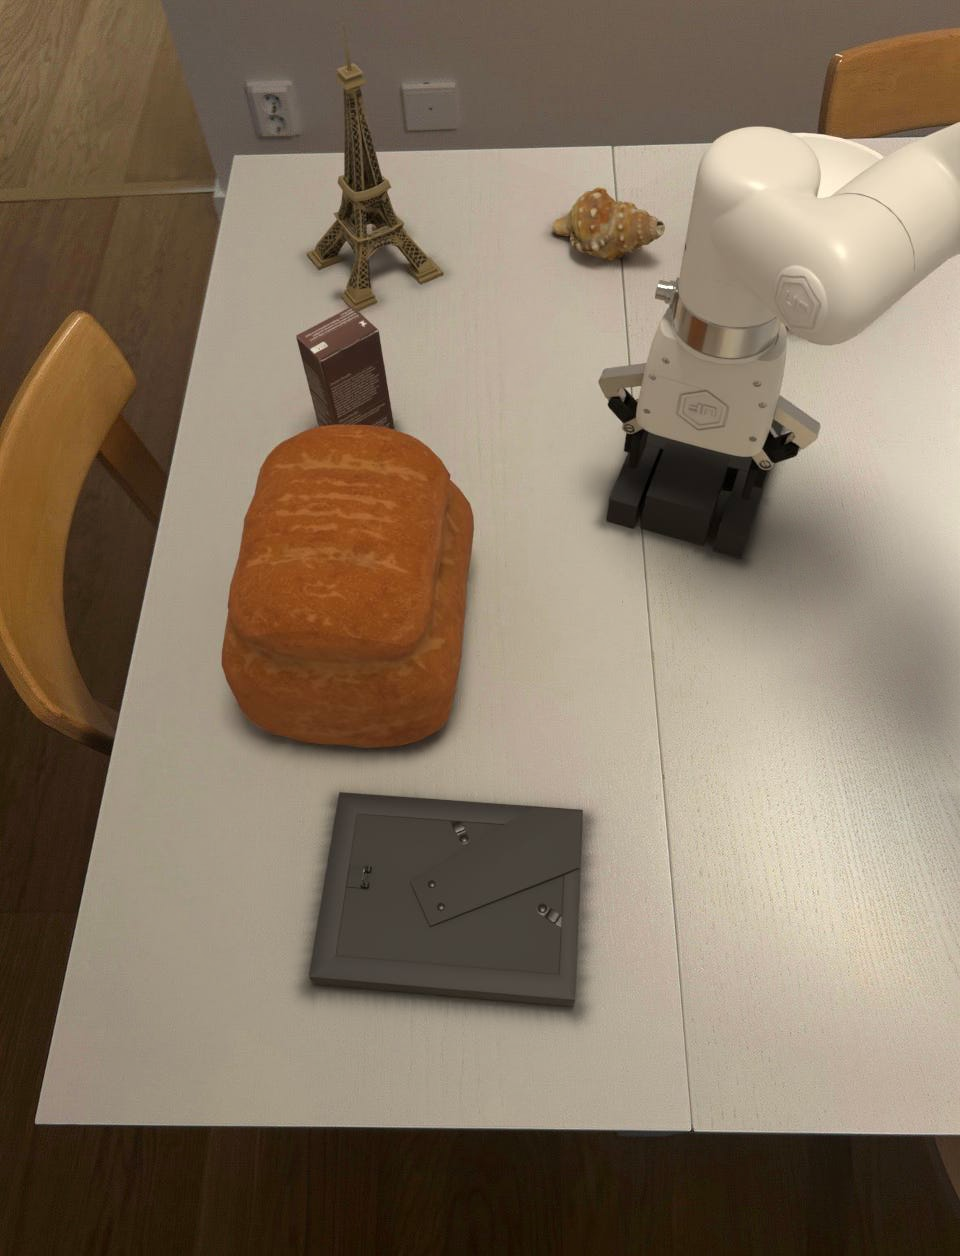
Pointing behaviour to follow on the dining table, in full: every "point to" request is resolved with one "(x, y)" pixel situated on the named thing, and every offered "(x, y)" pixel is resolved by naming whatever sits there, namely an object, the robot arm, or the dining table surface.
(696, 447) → the forked base block
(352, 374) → the box
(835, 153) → the bowl
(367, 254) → the eiffel tower
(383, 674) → the bread
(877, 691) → the dining table surface
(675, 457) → the dark grey square block
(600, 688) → the dining table surface
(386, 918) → the picture frame
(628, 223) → the seashell
